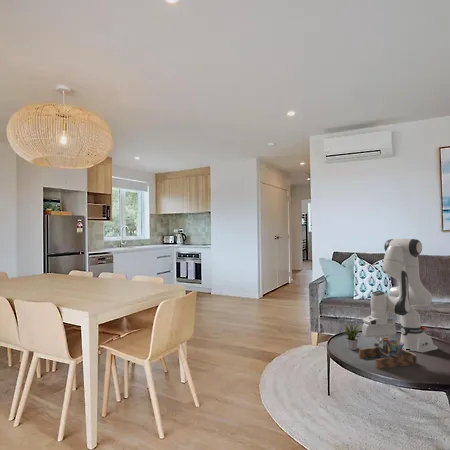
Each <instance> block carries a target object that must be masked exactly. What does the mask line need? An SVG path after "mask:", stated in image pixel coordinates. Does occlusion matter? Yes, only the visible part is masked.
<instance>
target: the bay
mask: <svg viewBox="0 0 450 450" xmlns="http://www.w3.org/2000/svg"><path fill="white" fill-rule="evenodd" d="M381 347H382V348H383V346H381ZM377 350H378V348H377V347H375V346H374V347H367V348H359V349H358V358H359V359H366V358H375V357H378V356H377ZM381 351H382V352H383V353H385V354H387V355H388V353H386V352H384V351H383V350H381ZM388 351H389V349H388ZM417 362H418V361H417V354H415V353H413V352H411V351H410V350H406V349H403V348H402V351H401V356H399V357H397V358H396V357H390V358H375V369H377V370H379V369H380V368H381V369H388V368H389V369H390V368H397V367H405V366H406V367H407V366H412V365H413V366H417V364H418V363H417Z"/></svg>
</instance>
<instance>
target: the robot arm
mask: <svg viewBox="0 0 450 450" xmlns="http://www.w3.org/2000/svg"><path fill="white" fill-rule="evenodd" d="M383 246H384V247H383V248H384V252H385V254H384V257H383V261H382V270H383V271H384V273H385V274H386V275H387V276H389V277H391V278H392V279H395V280H397V282H398V286H392V287H391V288H390V289H389V290H388V295H387V294H386V292H384V291H382V290H381V291H380V290H376V291H372V292H371V296H370V311H371V312H370V315H368V316H367V317H363V319H362V322H363V324H362V327H361V331H362V332H361V333H362V335H363V337H365V338H372V337H373V338H374V337H375V339H376V343H378V344H379V345H380V344H383V339H384V337H387V336H394V335H397V327H396V321H395V319H394V318H388V313H390V314H395V315H399V316H400V329H399V330H400V340H399V341H401V342H403V343H404V346H403V348H404V349H405V350H406V349H410V350H409V352H411V351H412V352H418V353H427V352H431V351H435V350H438V349H439V347H438V346H437V345H435V344H434V342H433V339H432V337H430V336H429V335H428V334H426V333H425V332H424V331H427V327H425V326H421V314H420V313H419V312H418V311H416V309H414V308H413V306H419V307H426V306H429V305H431V303H432V301H433V295H432V293H431V292H430V291H429V290H428V289H427V288H426V287H425V286H424V284H423V283H422V281H421V278H420V277H421V276H420V262H419V260H420V259H419V255H421V253H422V250H423V246H422V242H421V241H420V240H419V239H416V238H396V239H395V238H394V239H393V238H391V239H387V240H386V241H385V243H384V245H383Z"/></svg>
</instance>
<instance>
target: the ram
mask: <svg viewBox="0 0 450 450" xmlns="http://www.w3.org/2000/svg"><path fill="white" fill-rule="evenodd" d="M388 340H389V337H387V336H384V339H383V343H382V346H380V344H378V343H377V342H374V343H373V346H374V348H375V347H377V348H378V350H377V356H376V357H379V359H381V358H390V357H396V358H397V357H398V352H390V351H388V344H387V341H388ZM382 347H383V348H382ZM381 350H383V351H384V352H386V353H388V354H390V356H389V355H387V354H385V353H383V352H382V351H381Z"/></svg>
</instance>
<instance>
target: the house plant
mask: <svg viewBox="0 0 450 450" xmlns="http://www.w3.org/2000/svg"><path fill="white" fill-rule="evenodd" d="M359 326H360V324H357V325H356V326H355V327H354V325H353V324H352V323H350V325H349V328H350V329H349V328H348V326H347V325H346V324H344V327H345V328H344V327H343V329H344V330H345V331H344V332H342V333H343V334H344V336H345V337H346V339H345V340H346V345H347V348H348V350H351V351H353V350H357V347H358V339H359V338H360V336H361V337H362V335H361V333H360V334H359V332H361V330H360V329H361V327H359Z"/></svg>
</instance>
